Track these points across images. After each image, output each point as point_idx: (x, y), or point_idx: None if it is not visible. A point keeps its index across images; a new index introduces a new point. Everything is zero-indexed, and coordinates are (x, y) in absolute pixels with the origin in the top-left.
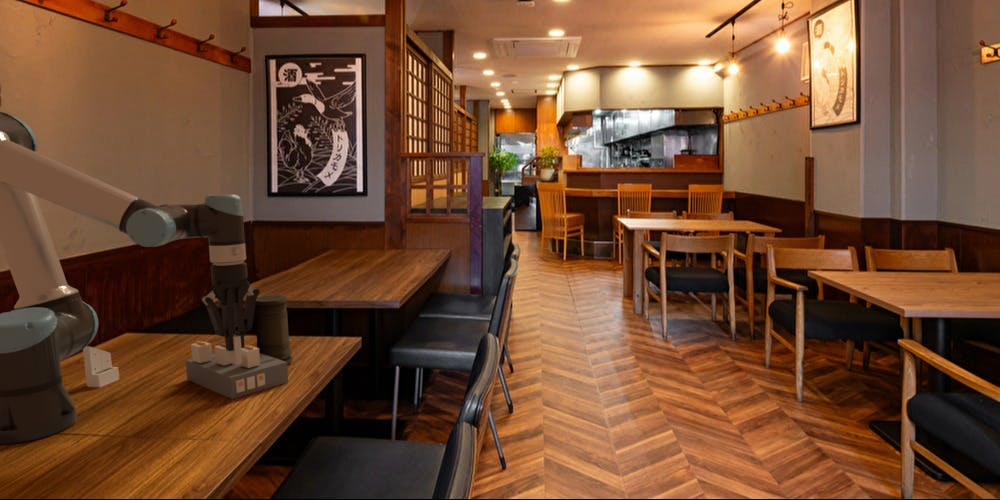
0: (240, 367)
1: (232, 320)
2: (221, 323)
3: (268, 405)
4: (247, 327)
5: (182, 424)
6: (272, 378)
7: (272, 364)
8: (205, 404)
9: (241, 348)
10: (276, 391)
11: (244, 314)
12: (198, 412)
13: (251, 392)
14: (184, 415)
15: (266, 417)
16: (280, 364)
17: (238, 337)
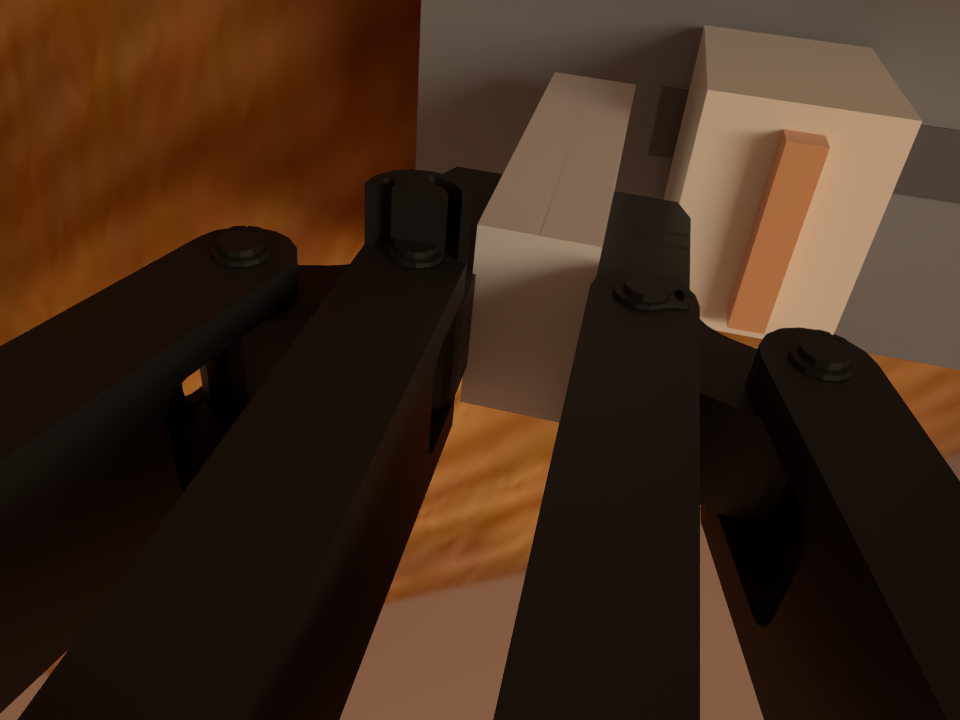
0: (662, 91)
1: (363, 635)
2: (128, 566)
3: (522, 453)
4: (711, 535)
5: (88, 260)
6: None
7: (892, 309)
8: (292, 94)
9: (725, 139)
10: (732, 337)
11: (859, 644)
12: (206, 185)
13: None
14: (128, 150)
15: (415, 536)
16: (932, 362)
17: (532, 407)
